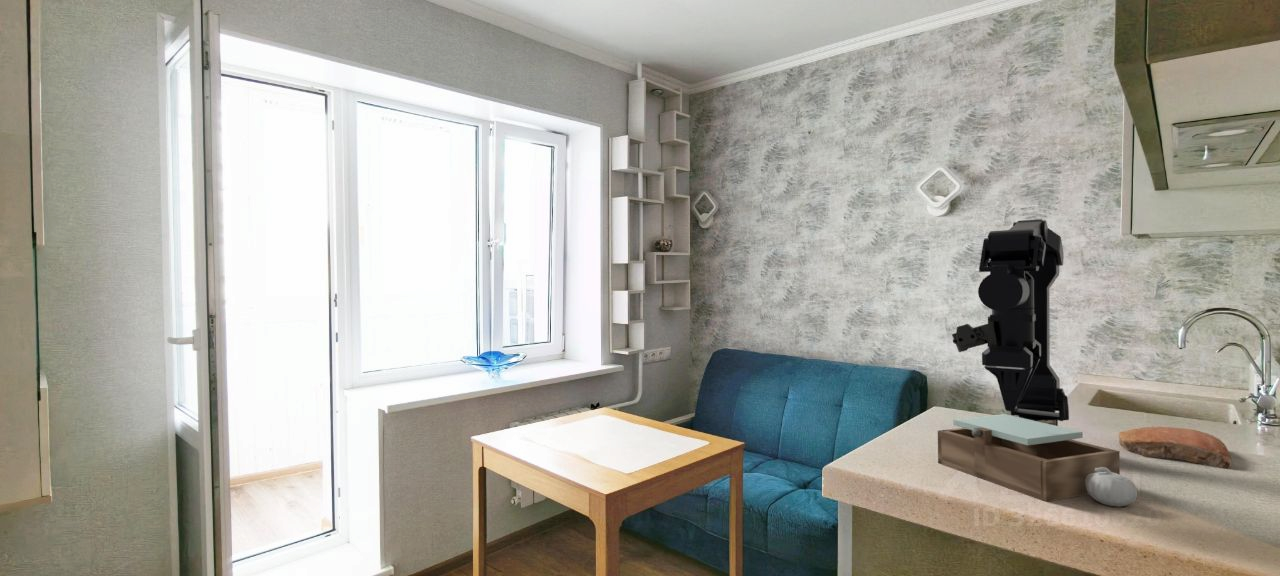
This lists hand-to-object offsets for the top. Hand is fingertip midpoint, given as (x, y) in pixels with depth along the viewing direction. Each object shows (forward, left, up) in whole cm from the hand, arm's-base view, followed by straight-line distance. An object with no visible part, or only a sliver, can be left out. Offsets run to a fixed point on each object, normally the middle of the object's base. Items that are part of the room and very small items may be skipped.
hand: (1013, 405), depth 94 cm
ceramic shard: (-42, -3, -13) cm, 44 cm away
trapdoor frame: (-5, -3, -13) cm, 14 cm away
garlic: (-5, +11, -13) cm, 18 cm away
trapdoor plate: (-5, -4, -6) cm, 9 cm away
